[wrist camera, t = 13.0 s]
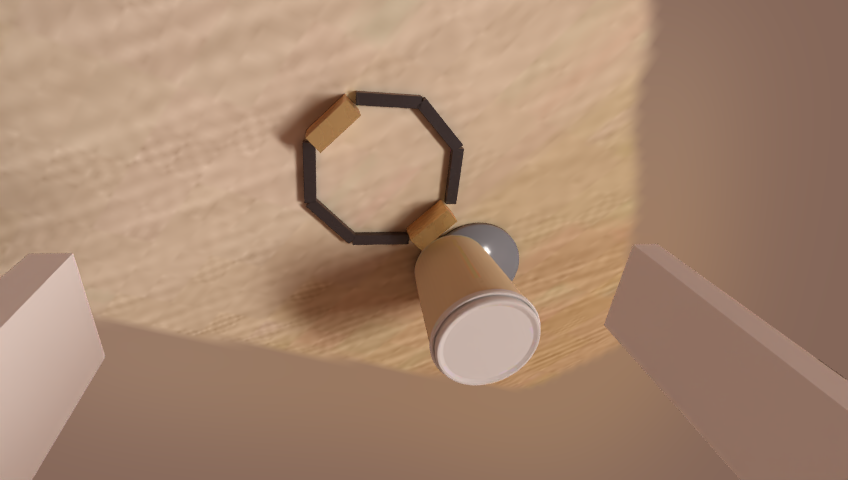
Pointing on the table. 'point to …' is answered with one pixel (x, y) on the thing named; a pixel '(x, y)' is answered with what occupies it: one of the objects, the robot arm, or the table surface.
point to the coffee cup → (473, 313)
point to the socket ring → (338, 122)
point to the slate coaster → (493, 244)
